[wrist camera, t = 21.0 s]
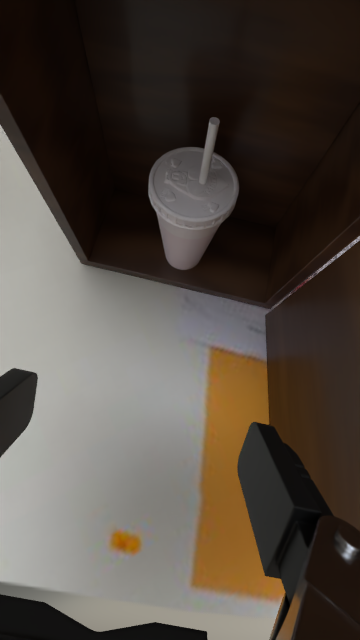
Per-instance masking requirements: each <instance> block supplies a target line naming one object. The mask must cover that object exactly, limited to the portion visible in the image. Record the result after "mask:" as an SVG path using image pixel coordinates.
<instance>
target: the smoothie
mask: <svg viewBox="0 0 360 640" xmlns="http://www.w3.org/2000/svg"><path fill="white" fill-rule="evenodd" d="M219 123H220V121H219V119H218V118H216V117H212V118H210V120H209V126H208V132H207V137H206V143H205V149H204V148H199V147H182V148H178V149H174V150H172V151H169V152H167V153H166V154H164V155H163V156H161V157H160V158H159V159H158V160H157V161H156V162H155V164H154V165H153V167H152V169H151V171H150V175H149V185H148V195H149V198H150V202H151V205H152V206H153V208H154V209H155V211H156V213H157V217H158V222H159V227H160V231H161V236H162V241H163V246H164V251H165V256H166V259H167V261H168V262H169V264H170V265H171V266H173V267H174V268H177V269H180V270H188V269H191V268H193V267H195V266H196V265H197V264H198V263H199V261H200V259H201V258H202V256H203V254H204V252H205V250H206V249H207V247H208V245H209V243H210V242H211V240H212V238H213V236H214V235H215V233H216V231H217V229H218V228H219V226H220V224H221V223H222V222H223V221H224V220H225V219H226V218H227V217H229V216H230V214H231V212H232V211H233V209H234V207H235V204H236V200H237V197H238V193H239V181H238V177H237V174H236V172H235V171H234V169H233V167H232V166H231V165H230V164H229V163H228V161H226V160H225V159H224V158H223V157H222V156H220V155H218V154H217V153H215V152H213V151H214V146H215V141H216V137H217V132H218V127H219Z"/></svg>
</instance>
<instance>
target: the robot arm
mask: <svg viewBox="0 0 360 640" xmlns="http://www.w3.org/2000/svg"><path fill="white" fill-rule="evenodd" d="M37 379H38V377H37V374H36V373H34V372H29V371H25V370H20V369H16V368H13V369H11V370H10V371H8V372H7V373H5V374H4V375H2V376H1V377H0V457H1V456H2V455H3V454H4V453H5V451H6V450H7V449H8V448H9V447H10V446H11V445H12V444H13V442H14V441H15V440H16V439H17V438H18V437H19V436H20V435H21V433H22V432H23V431H24V430H25V429H26V427H27V426H28V424H29V422H30V420H31V417H32V414H33V408H34V401H35V394H36V387H37ZM238 476H239V479H240V483H241V487H242V491H243V494H244V498H245V502H246V506H247V509H248V513H249V517H250V521H251V525H252V528H253V532H254V536H255V540H256V543H257V547H258V551H259V555H260V558H261V562H262V566H263V570H264V573H265V576H269V577H274V578H280V579H281V580H282V583H283V586H284V589H285V595H284V597H283V599H282V602H281V605H280V608H279V611H278V614H277V617H276V621H275V624H274V627H273V630H272V633H271V636H270V639H269V640H360V531H359V530H358V529H356V528H355V527H354V526H352V525H351V524H349V523H348V522H346V521H344V520H342V519H340V518H338V517H335V516H334V515H333V513H332V512H331V510H330V508H329V507H328V505H327V503H326V502H325V500H324V498H323V497H322V495H321V493H320V492H319V490H318V488H317V486H316V485H315V483H314V481H313V480H312V479H311V476H310V475H309V473H308V471H307V470H306V469H305V466H304V464H303V463H302V461H301V459H300V458H299V456H298V454H297V453H296V452H295V451H294V450H293V449H291V448H290V447H289V446H288V445H287V444H286V443H283V442H282V440H281V438H280V436H279V434H278V432H277V431H276V429H275V427H274V426H270V425H266V424H261V423H257V422H253V423H251V425H250V427H249V430H248V433H247V435H246V438H245V441H244V444H243V447H242V450H241V453H240V455H239V459H238ZM0 640H207V632H206V631H201V630H195V629H190V628H184V627H179V626H173V625H168V624H162V623H156V622H154V623H149V624H143V625H138V626H131V627H126V628H120V629H115V630H109V631H103V632H96V631H93V630H91V629H89V628H87V627H85V626H84V625H82V624H80V623H79V622H77V621H75V620H73V619H72V618H70V617H68V616H67V615H65V614H63V613H62V612H60V611H58V610H57V609H55V608H53V607H51V606H50V605H48V604H46V603H44V602H39V601H33V600H28V599H22V598H17V597H11V596H6V595H0Z"/></svg>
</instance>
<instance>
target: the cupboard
mask: <svg viewBox="0 0 360 640" xmlns="http://www.w3.org/2000/svg"><path fill="white" fill-rule="evenodd" d="M212 117H216V118H218V119H219V121H220V123H219V127H218V132H217V137H216V141H215V146H214V151H213V152H215V153H217V154H218V155H220V156H222V157H223V158H224V159H225V160H226V161H228V163H229V164H230V165H231V166H232V167H233V169H234V171H235V172H236V174H237V177H238V181H239V193H238V197H237V200H236V204H235V207H234V209H233V211H232V212H231V214H230V216H229V217H227V218H226V219H225V220H224V221H223V222H222V223H221V224H220V226H219V228H218V229H217V231H216V233H215V235H214V236H213V238H212V240H211V242H210V243H209V245H208V247H207V249H206V250H205V252H204V254H203V256H202V258H201V259H200V261H199V263H198V264H197V265H196V266H195V267H193V268H191V269H188V270H180V269H177V268H174V267H173V266H171V265H170V264H169V262H168V261H167V259H166V256H165V251H164V246H163V241H162V236H161V231H160V227H159V222H158V217H157V213H156V211H155V209H154V208H153V206H152V205H151V202H150V198H149V195H148V185H149V175H150V171H151V169H152V167H153V165H154V164H155V162H156V161H157V160H158V159H159V158H160V157H161V156H163V155H164V154H166V153H167V152H169V151H172V150H174V149H178V148H182V147H199V148H204V149H205V143H206V137H207V132H208V126H209V120H210V118H212ZM0 124H1V126H2V128H3V129H4V131H5V133H6V135H7V136H8V138H9V140H10V142H11V143H12V145H13V147H14V148H15V150H16V152H17V154H18V155H19V157H20V159H21V160H22V162H23V164H24V166H25V167H26V169H27V171H28V172H29V174H30V176H31V178H32V179H33V181H34V183H35V184H36V186H37V188H38V190H39V191H40V193H41V195H42V196H43V198H44V200H45V202H46V203H47V205H48V207H49V209H50V210H51V212H52V214H53V215H54V217H55V219H56V221H57V222H58V224H59V226H60V227H61V229H62V231H63V233H64V234H65V236H66V238H67V239H68V241H69V243H70V245H71V246H72V248H73V250H74V251H75V253H76V255H77V257H78V258H79V260H80V262H81V263H82V264H86V265H90V266H95V267H99V268H103V269H107V270H111V271H115V272H120V273H124V274H128V275H132V276H136V277H140V278H144V279H149V280H153V281H157V282H161V283H165V284H169V285H174V286H178V287H182V288H186V289H190V290H194V291H199V292H203V293H207V294H211V295H215V296H219V297H224V298H228V299H232V300H236V301H240V302H244V303H248V304H253V305H257V306H261V307H265V308H269V309H271V308H272V307H273V306H274V305H275V304H277V303H278V302H279V301H280V300H282V299H283V298H284V297H285V296H286V295H288V294H289V293H290V292H291V291H293V290H294V289H295V288H296V287H297V286H299V285H300V284H301V283H302V282H304V281H305V280H306V279H307V278H308V277H310V276H311V275H312V274H313V273H315V272H316V271H317V270H318V269H319V268H321V267H322V266H323V265H324V264H326V263H327V262H328V261H329V260H330V259H332V258H333V257H334V256H335V255H337V254H338V253H339V252H340V251H342V250H343V249H344V248H345V247H346V246H348V245H349V244H350V243H351V242H353V241H354V240H355V239H356V238H357V237H359V236H360V0H0Z"/></svg>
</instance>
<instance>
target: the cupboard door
mask: <svg viewBox="0 0 360 640" xmlns="http://www.w3.org/2000/svg"><path fill="white" fill-rule="evenodd" d="M266 338H267V363H268V388H269V414H270V426H274V427H275V429H276V431H277V432H278V434H279V436H280V438H281V440H282V442H283V443H286V444H287V445H288V446H289V447H290V448H291V449H293V450H294V451H295V452H296V453H297V454H298V456H299V458H300V459H301V461H302V463H303V464H304V466H305V469H306V470H307V471H308V473H309V475H310V476H311V479H312V480H313V481H314V483H315V485H316V486H317V488H318V490H319V492H320V493H321V495H322V497H323V498H324V500H325V502H326V503H327V505H328V507H329V508H330V510H331V512H332V513H333V515H334V516H335V517H338V518H340V519H342V520H344V521H346V522H348V523H349V524H351V525H352V526H354V527H355V528H356V529H358V530H359V531H360V241H359V242H357V243H356V244H355V245H354V246H352V247H351V248H350V249H349V250H347V251H346V252H345V253H343V254H342V255H341V256H340V257H338V258H337V259H336V260H335V261H333V262H332V263H331V264H330V265H328V266H327V267H326V268H325V269H323V270H322V271H321V272H320V273H318V274H317V275H316V276H314V277H313V278H312V279H311V280H309V281H308V282H307V283H306V284H304V285H303V286H302V287H301V288H299V289H298V290H297V291H296V292H294V293H293V294H292V295H290V296H289V297H288V298H287V299H285V300H284V301H283V302H282V303H280V304H279V305H278V306H277V307H275V308H274V309H273V310H272V311H270V312H269V313H268V314H267V315H266Z"/></svg>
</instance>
